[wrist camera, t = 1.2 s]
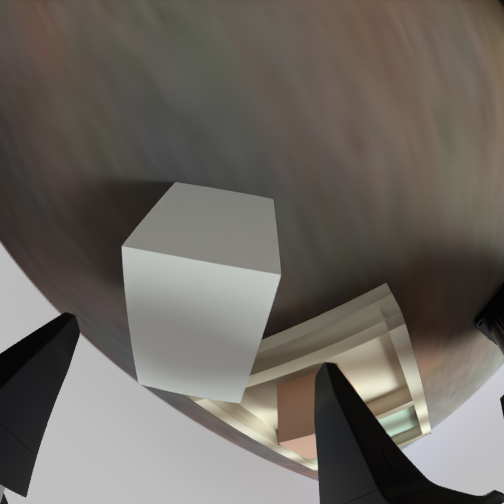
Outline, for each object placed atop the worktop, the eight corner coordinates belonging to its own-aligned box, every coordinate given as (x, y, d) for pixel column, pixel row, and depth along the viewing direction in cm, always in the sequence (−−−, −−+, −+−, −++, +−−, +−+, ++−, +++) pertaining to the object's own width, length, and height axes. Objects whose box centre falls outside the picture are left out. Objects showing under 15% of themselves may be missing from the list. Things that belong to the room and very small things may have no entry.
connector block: (273, 198, 13) (281, 274, 8) (245, 313, 17) (239, 403, 11) (175, 181, 13) (121, 245, 8) (169, 299, 16) (138, 383, 11)
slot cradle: (425, 415, 25) (431, 433, 23) (316, 454, 29) (318, 471, 27) (386, 282, 15) (401, 311, 13) (190, 365, 19) (184, 394, 17)
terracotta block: (357, 391, 19) (368, 442, 15) (303, 409, 20) (307, 459, 17) (337, 363, 17) (349, 422, 13) (276, 385, 19) (278, 442, 15)
